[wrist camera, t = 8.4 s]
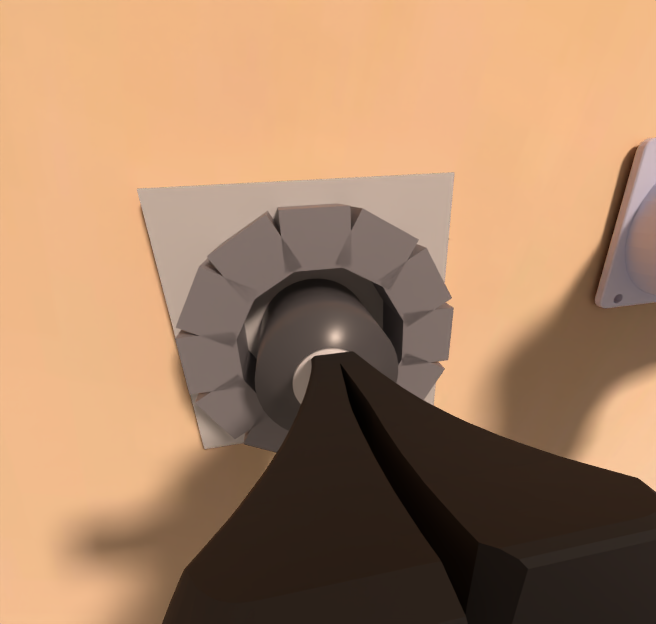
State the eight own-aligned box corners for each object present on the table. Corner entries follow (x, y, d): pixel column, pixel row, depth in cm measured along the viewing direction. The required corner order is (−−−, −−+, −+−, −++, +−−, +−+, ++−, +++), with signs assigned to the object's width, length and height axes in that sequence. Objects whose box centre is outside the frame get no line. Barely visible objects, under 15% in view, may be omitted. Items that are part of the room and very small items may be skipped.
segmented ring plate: (444, 173, 13) (493, 167, 10) (426, 404, 18) (456, 447, 15) (145, 189, 12) (101, 187, 9) (207, 437, 16) (192, 492, 13)
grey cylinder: (374, 282, 14) (413, 318, 10) (359, 376, 15) (387, 439, 11) (262, 274, 13) (256, 311, 9) (259, 375, 14) (252, 443, 10)
